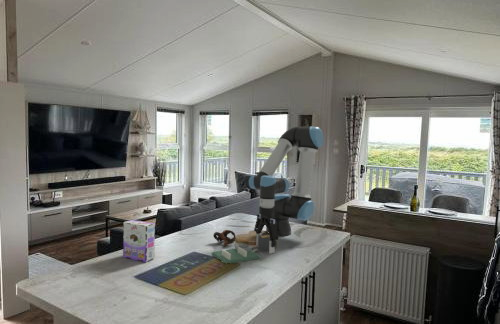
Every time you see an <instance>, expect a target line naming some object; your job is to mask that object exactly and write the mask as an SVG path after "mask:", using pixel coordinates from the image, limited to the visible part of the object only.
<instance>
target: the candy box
mask: <svg viewBox="0 0 500 324" xmlns="http://www.w3.org/2000/svg"><path fill="white" fill-rule="evenodd" d="M122 231H123V232H122V244H123V245H122V255H123V256H122V258H126V259H130V260H133V261H138V262H143V263H147V262H150V261H152V260H155V238H156V237H155V236H156V235H155V231H156V223H153V222H145V221H141V220H135V219H131V220H126V221H124V222H122Z"/></svg>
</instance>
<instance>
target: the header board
mask: <svg viewBox="0 0 500 324" xmlns="http://www.w3.org/2000/svg"><path fill="white" fill-rule="evenodd" d="M212 256H214V257H215V258H216V257H217V258H216V259H218V260H219V259H220V260H221V262H222V261H223V262H224V263H230V264H235V263H236V264H237V263H241V262H247V261H250V260H251V261H252V260H256V259H260V258H261V256H260V254H257V253H256V252H254V251H253V247H252V246H250V245H248V243H247V244H246V243H239V244H235V245H234V248H230V249H221V250H217V251H212ZM220 260H219V261H220ZM223 262H222V263H223ZM224 263H223V264H224Z"/></svg>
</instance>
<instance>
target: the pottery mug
mask: <svg viewBox="0 0 500 324" xmlns="http://www.w3.org/2000/svg"><path fill="white" fill-rule="evenodd" d="M229 234H231V235H232V236H233V237H232V238H230V237H229V236H228V235H229ZM213 238H214V239H215V240H216V242H217V243H221V242H222V241H223V246H224V247H227V246H228V245H232V244H234V243H235V242H236V240H237V238H236V233H235V232H234V231H233V230H230V229H224V230H223V231H222V232H219V231H216V232H214V233H213Z"/></svg>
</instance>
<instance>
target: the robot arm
mask: <svg viewBox="0 0 500 324" xmlns="http://www.w3.org/2000/svg"><path fill="white" fill-rule="evenodd" d="M323 144H324V134H323V131H322V129H321V128H320V127H319V126H311V125H310V126H293V127H291V128H289V129H287V130H286V131H285V132H284V133H283V134H282V135H281V136H280V137H279V138H278V140H277V145H276V146H275V147H274V149H273V151H272V152H271V154H270V155H269V157H268V158H267V159H266V161H265V162H264V164H263V165H262V167H261V168H260V170H259V172H258V173H257V174H256V175H251V176H250V177H249V179H248V186H249V188H250V189H252V190H256V191H259V208H258V214H257V215H256V220H255V225H254V229H253V232H255V234H256V236H255V237H256V239H255V240H256V243H255V244H256V245H255V246H256V248H258V237H259V236H262V235H263V234H262V233H263V229H264V227H265V232H266V231H267V232H269V234H268V235H269V236H270V241H269V251H268V254H273V253H274V254H275V248H276V241H278V240H279V237H285V236H290V235H291V234H292V228H291V223H290V219H294V220H298V221H308V220H310V218H312V216H313V215H314V211H315V203H314V201H312V196H311V195H310V191H311V185H312V177H313V169H314V163H315V155H316V153H318V151H319V148H321V147H322V146H323ZM295 147H297V150H298V151H299V157H298V162H297V163H298V164H297V170H296V171H297V172H296V178H295V185H294V191H293V192H292V194H291V195H290V194H289V193H286V192H287V191H289V189H290V182H289V180H288V179H287V178H285V177H283V178H282V177H280V178H277V177H275V176H274V174H275V173H276V171H277V170H278V169H279V167H280V165H281V164H282V162H283V160H284V159H285V157H286V156H287V154H288V153H289V151H292V149H293V148H295ZM272 237H273V238H272Z"/></svg>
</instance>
